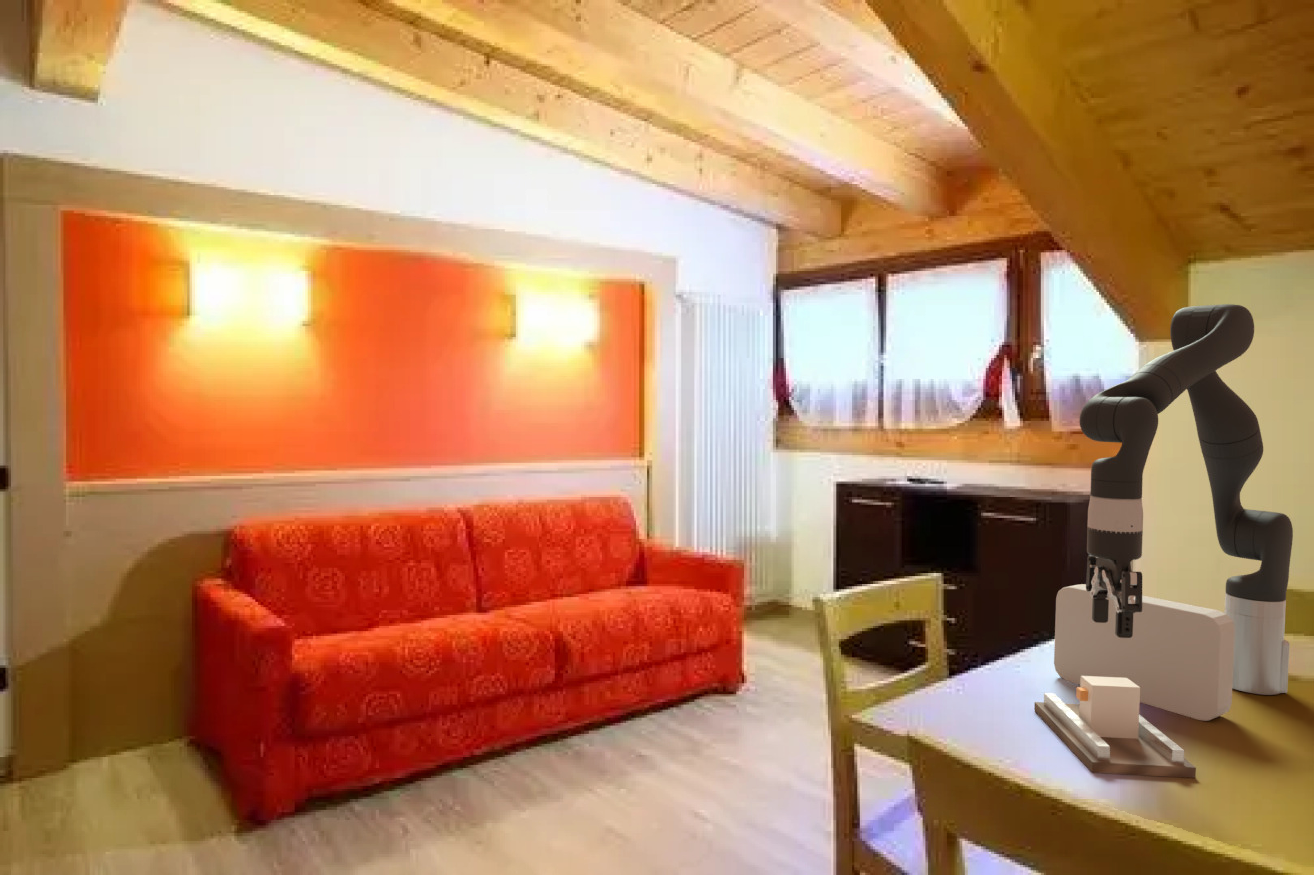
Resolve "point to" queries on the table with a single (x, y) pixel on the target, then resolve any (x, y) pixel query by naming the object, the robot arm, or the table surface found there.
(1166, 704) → the rounded white slab
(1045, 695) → the mounting rail
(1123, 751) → the mounting board
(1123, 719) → the block
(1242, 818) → the table surface
